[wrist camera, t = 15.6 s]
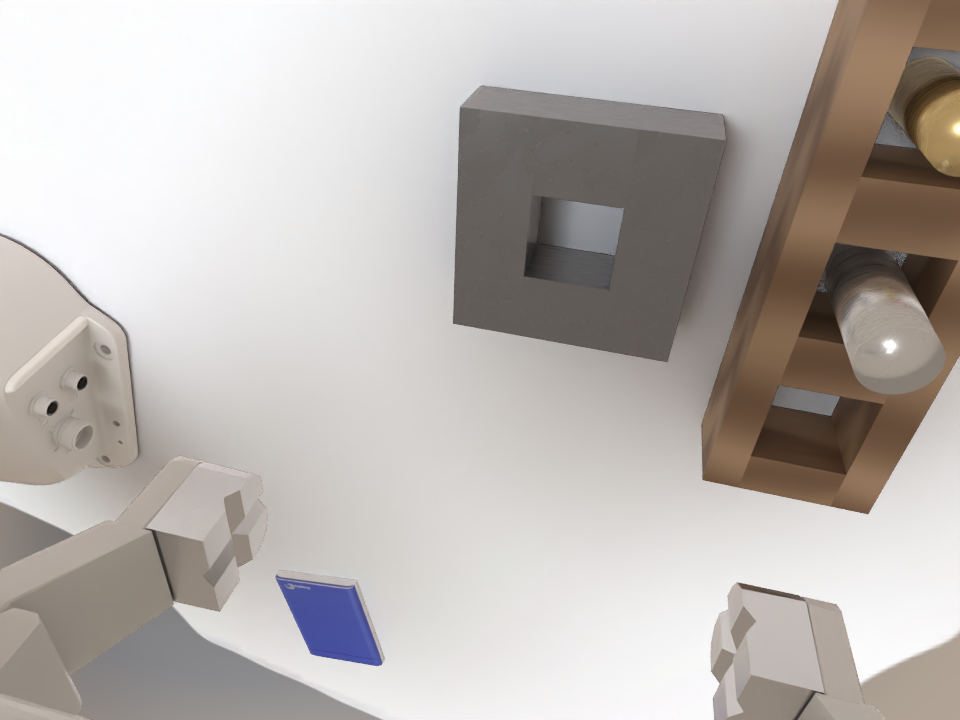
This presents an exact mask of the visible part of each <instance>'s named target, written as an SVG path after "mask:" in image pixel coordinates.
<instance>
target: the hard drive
mask: <svg viewBox="0 0 960 720" xmlns="http://www.w3.org/2000/svg"><path fill="white" fill-rule="evenodd" d="M276 579H277V582H278V584H279V586H280V588H281V590H282V592H283V595H284V597H285V599H286V601H287V603H288V605H289V607H290V610H291V612H292V614H293V616H294V618H295V621H296V623H297V625H298V627H299V629H300V632H301V634H302V636H303V638H304V640H305V642H306V644H307V646H308V649H309V651H310V653H311V654H313V655H316V656H321V657H327V658H333V659H339V660H345V661H351V662H357V663H362V664H368V665H374V666H379V665H382V663H383V660H384V656H383V653H382V650H381V647H380V644H379V641H378V638H377V636H376V633H375V630H374V627H373V625H372V622H371V619H370V616H369V613H368V611H367V608H366V605H365V602H364V599H363V597H362V594H361V591H360V588H359V586H358V583H357V580H353V579H345V578H337V577H330V576H322V575H314V574H306V573H299V572H291V571H283V570H279V571H278V572H277V575H276Z"/></svg>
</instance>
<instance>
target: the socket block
mask: <svg viewBox="0 0 960 720" xmlns="http://www.w3.org/2000/svg"><path fill="white" fill-rule="evenodd" d="M725 144H726V134H725V127H724V120H723V114H715V113H706V112H698V111H689V110H681V109H673V108H664V107H656V106H647V105H639V104H631V103H622V102H614V101H605V100H597V99H589V98H580V97H572V96H563V95H555V94H546V93H538V92H530V91H521V90H513V89H504V88H496V87H488V86H480V87H479V88H478V89H477V90H476V91H475V92H474V93H473V94H472V95H471V96H470V97H469V98H468V99H467V100H466V101H465V102H464V103H463V104H462V105H461V106H460V122H459V154H458V185H457V217H456V248H455V280H454V312H453V324H459V325H464V326H470V327H475V328H481V329H486V330H492V331H497V332H503V333H509V334H514V335H520V336H525V337H531V338H536V339H542V340H547V341H553V342H558V343H564V344H570V345H575V346H581V347H586V348H592V349H597V350H603V351H608V352H614V353H620V354H625V355H631V356H636V357H642V358H647V359H653V360H658V361H664V362H668V359H669V355H670V351H671V347H672V344H673V340H674V336H675V332H676V329H677V325H678V321H679V317H680V313H681V310H682V306H683V302H684V298H685V295H686V291H687V287H688V283H689V280H690V276H691V272H692V268H693V264H694V261H695V257H696V253H697V249H698V246H699V242H700V238H701V234H702V231H703V227H704V223H705V219H706V215H707V212H708V208H709V204H710V200H711V197H712V193H713V189H714V185H715V182H716V178H717V174H718V170H719V166H720V163H721V159H722V155H723V151H724V148H725ZM542 197H548V198H555V199H562V200H569V201H575V202H582V203H589V204H596V205H603V206H610V207H617V208H624V214H623V219H622V225H621V230H620V235H619V241H618V246H617V251H616V256H613V255H607V254H600V253H594V252H588V251H581V250H575V249H568V248H562V247H556V246H549V245H543V244H537V239H538V230H539V220H540V211H541V202H542Z"/></svg>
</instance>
